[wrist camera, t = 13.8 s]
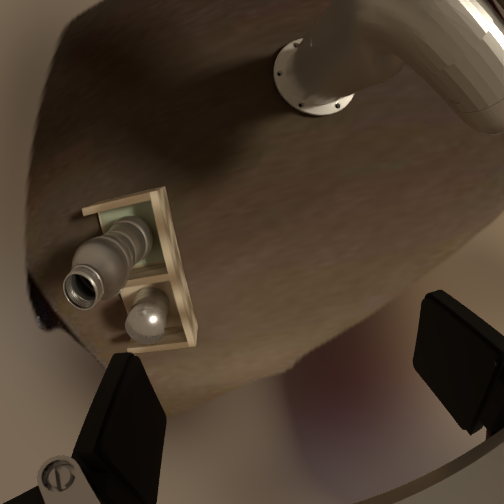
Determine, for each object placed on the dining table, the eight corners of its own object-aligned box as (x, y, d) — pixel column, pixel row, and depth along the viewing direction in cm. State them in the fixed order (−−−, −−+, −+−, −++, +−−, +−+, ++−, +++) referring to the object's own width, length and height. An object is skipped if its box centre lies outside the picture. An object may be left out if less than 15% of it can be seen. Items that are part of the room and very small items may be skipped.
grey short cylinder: (129, 293, 45) (117, 318, 38) (160, 282, 45) (152, 307, 38) (145, 321, 47) (137, 347, 40) (175, 311, 47) (170, 338, 40)
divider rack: (97, 202, 41) (81, 208, 36) (165, 186, 42) (156, 190, 36) (136, 334, 48) (128, 353, 43) (197, 326, 49) (195, 346, 43)
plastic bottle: (123, 261, 43) (68, 329, 24) (109, 218, 41) (39, 265, 22) (162, 250, 44) (123, 318, 25) (148, 206, 41) (95, 247, 22)
